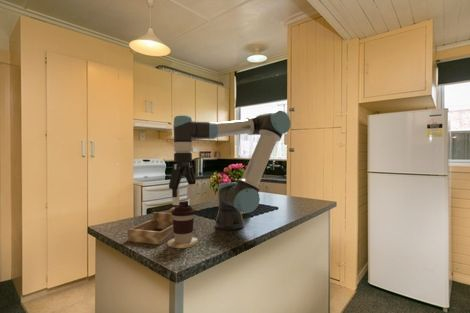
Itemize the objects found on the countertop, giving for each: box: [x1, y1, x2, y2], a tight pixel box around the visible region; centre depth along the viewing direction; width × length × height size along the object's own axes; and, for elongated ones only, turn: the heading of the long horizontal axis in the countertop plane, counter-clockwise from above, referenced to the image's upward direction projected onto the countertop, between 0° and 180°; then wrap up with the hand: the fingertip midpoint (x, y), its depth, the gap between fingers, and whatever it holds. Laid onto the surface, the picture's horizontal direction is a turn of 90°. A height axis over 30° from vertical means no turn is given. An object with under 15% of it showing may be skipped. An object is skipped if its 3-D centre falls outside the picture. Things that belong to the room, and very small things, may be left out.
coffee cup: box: [171, 204, 196, 244], centre depth 111 cm, size 10×10×15 cm
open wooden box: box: [127, 211, 174, 245], centre depth 121 cm, size 16×21×8 cm
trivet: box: [166, 236, 199, 249], centre depth 111 cm, size 13×13×1 cm
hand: (183, 201), depth 110 cm, fingers open, 13 cm apart
